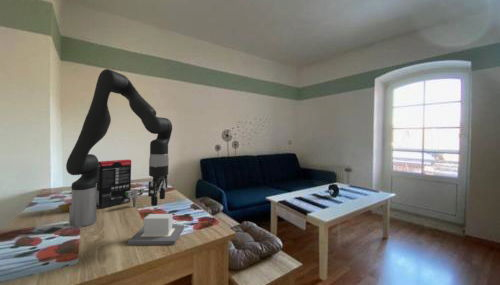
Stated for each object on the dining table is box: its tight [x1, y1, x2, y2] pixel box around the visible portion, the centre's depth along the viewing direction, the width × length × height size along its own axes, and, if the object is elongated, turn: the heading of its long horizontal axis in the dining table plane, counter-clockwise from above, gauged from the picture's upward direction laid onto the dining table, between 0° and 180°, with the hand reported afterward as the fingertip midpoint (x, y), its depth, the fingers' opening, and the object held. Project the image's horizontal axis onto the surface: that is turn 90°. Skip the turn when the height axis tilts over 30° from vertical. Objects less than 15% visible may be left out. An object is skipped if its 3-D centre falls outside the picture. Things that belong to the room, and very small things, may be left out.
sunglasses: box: [57, 202, 72, 213], centre depth 118 cm, size 14×15×5 cm
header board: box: [127, 224, 185, 246], centre depth 87 cm, size 18×14×2 cm
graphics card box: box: [96, 159, 132, 209], centre depth 124 cm, size 17×7×27 cm, turn 144°
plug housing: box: [143, 213, 173, 235], centre depth 87 cm, size 10×5×7 cm, turn 93°
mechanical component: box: [125, 188, 144, 208], centre depth 121 cm, size 3×10×10 cm, turn 148°
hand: (158, 202), depth 87 cm, fingers open, 8 cm apart
